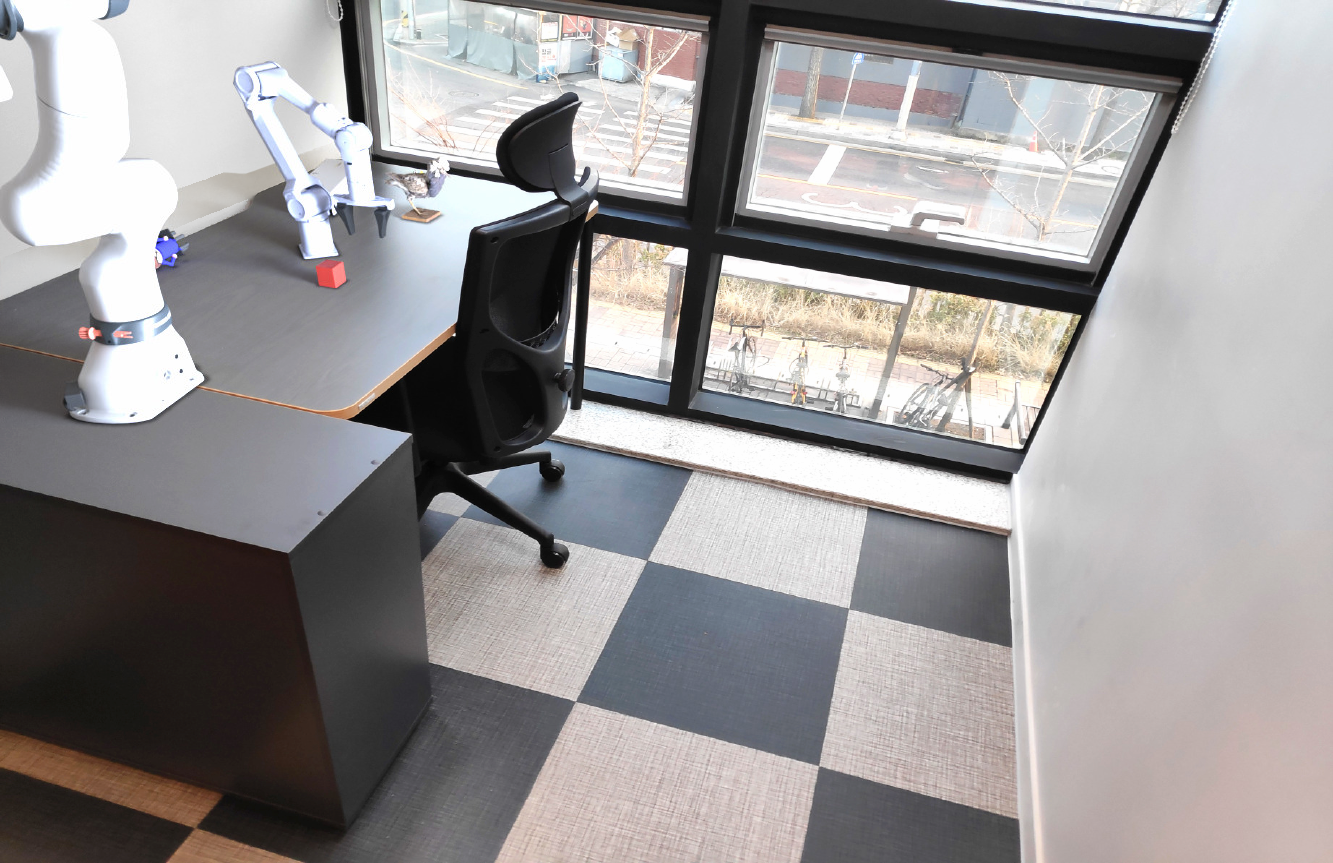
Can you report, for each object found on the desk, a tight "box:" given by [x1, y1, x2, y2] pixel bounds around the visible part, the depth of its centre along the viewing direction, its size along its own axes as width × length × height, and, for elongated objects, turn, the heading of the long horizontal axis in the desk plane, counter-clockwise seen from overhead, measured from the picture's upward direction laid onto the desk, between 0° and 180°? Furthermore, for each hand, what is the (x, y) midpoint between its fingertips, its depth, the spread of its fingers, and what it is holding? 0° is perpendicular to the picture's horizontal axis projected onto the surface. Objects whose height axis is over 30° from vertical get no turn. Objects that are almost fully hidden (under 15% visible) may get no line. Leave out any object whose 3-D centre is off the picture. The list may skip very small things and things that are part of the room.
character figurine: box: [154, 227, 190, 270], centre depth 191 cm, size 8×7×15 cm
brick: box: [315, 259, 347, 289], centre depth 190 cm, size 4×4×5 cm
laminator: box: [300, 158, 348, 217], centre depth 238 cm, size 34×12×6 cm, turn 2°
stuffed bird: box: [383, 156, 454, 223], centre depth 226 cm, size 10×20×17 cm, turn 93°
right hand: (367, 235), depth 198 cm, fingers open, 7 cm apart
